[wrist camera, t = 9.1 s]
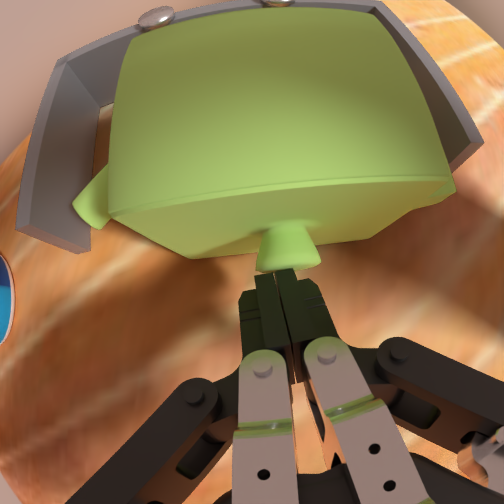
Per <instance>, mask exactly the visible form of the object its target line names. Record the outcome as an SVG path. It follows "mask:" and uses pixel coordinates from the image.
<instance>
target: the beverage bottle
mask: <svg viewBox="0 0 504 504" xmlns="http://www.w3.org/2000/svg"><path fill="white" fill-rule="evenodd" d="M14 310H15V291H14V283H13V278H12V274H11V271H10V268H9V266H8V264H7V262H6V261H5V259H4V258H3V257H2V256H1V255H0V345H1V344H2V343H3V342H4V341H5V340H6V338H7V337H8V335H9V332H10V330H11V327H12V323H13V318H14Z"/></svg>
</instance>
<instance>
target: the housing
mask: <svg viewBox="0 0 504 504" xmlns="http://www.w3.org/2000/svg"><path fill="white" fill-rule="evenodd" d="M271 7H317V8H333V9H343V10H352V11H358V12H364V13H369V14H372V15H374V16H375V17H376V18H377V19H378V20H379V21H380V22H381V24H382V25H383V26H384V27H385V28H386V29H387V31H388V32H389V33H390V35H391V36H392V38H393V39H394V41H395V42H396V44H397V45H398V47H399V49H400V50H401V52H402V54H403V56H404V57H405V59H406V61H407V63H408V65H409V66H410V68H411V70H412V72H413V74H414V76H415V78H416V80H417V82H418V84H419V87H420V89H421V91H422V93H423V95H424V98H425V100H426V103H427V105H428V108H429V110H430V113H431V115H432V118H433V121H434V123H435V126H436V129H437V132H438V135H439V138H440V141H441V144H442V147H443V150H444V153H445V155H446V158H447V161H448V164H449V167H450V170H451V174H452V173H453V172H454V171H455V170H456V169H457V168H458V167H459V166H460V165H462V164H463V163H464V162H465V161H466V160H467V159H468V158H469V157H470V156H471V155H472V154H474V153H475V152H476V151H477V150H478V149H479V148H480V147H481V146H482V145H483V144H484V141H483V139H482V137H481V135H480V133H479V131H478V129H477V127H476V125H475V123H474V122H473V120H472V118H471V116H470V114H469V113H468V111H467V109H466V108H465V106H464V104H463V103H462V101H461V99H460V98H459V96H458V95H457V93H456V91H455V90H454V88H453V87H452V85H451V84H450V82H449V81H448V79H447V78H446V76H445V75H444V74H443V72H442V71H441V69H440V68H439V67H438V65H437V64H436V63H435V61H434V60H433V59H432V57H431V56H430V55H429V53H428V52H427V51H426V50H425V48H424V47H423V46H422V45H421V43H420V42H419V41H418V40H417V39H416V37H415V36H414V35H413V34H412V33H411V32H410V31H409V29H408V28H407V27H406V26H405V25H404V24H403V23H402V22H401V21H400V20H399V18H398V17H397V16H396V15H395V14H394V13H393V12H392V11H391V10H390V9H389V8H388V7H387V6H386V5H385V4H384V3H383V2H382V1H377V0H236V1H229V2H223V3H218V4H212V5H206V6H201V7H197V8H192V9H188V10H184V11H180V12H176V13H174V10H173V8H172V7H169V6H163V7H158V8H155V9H152V10H150V11H148V12H146V13H144V14H143V15H142V16H141V17H140V18H139V20H138V23H139V24H137V25H134V26H131V27H128V28H125V29H123V30H120V31H118V32H115V33H113V34H110V35H108V36H105V37H103V38H101V39H98V40H96V41H94V42H92V43H90V44H88V45H85V46H83V47H81V48H79V49H77V50H75V51H73V52H71V53H69V54H67V55H66V56H64V57H62V58H60V59H58V60H57V62H56V65H55V67H54V70H53V72H52V74H51V77H50V80H49V82H48V85H47V88H46V90H45V93H44V96H43V98H42V101H41V104H40V108H39V111H38V114H37V117H36V120H35V124H34V127H33V131H32V135H31V138H30V142H29V146H28V151H27V155H26V160H25V164H24V169H23V175H22V180H21V186H20V193H19V200H18V207H17V216H16V227H15V230H17V231H20V232H22V233H24V234H27V235H29V236H32V237H34V238H37V239H39V240H42V241H44V242H47V243H49V244H52V245H54V246H57V247H59V248H62V249H65V250H67V251H70V252H72V253H75V254H80V253H84V252H88V251H91V247H90V225H89V224H88V223H87V222H85V221H84V220H83V219H82V218H81V217H80V216H79V214H78V213H77V212H76V210H75V209H74V207H73V205H72V202H73V201H74V200H75V198H76V197H77V196H78V195H79V194H80V193H81V192H82V190H83V189H84V188H85V187H86V186H87V185H88V184H89V183H90V182H91V180H92V169H93V158H94V148H95V140H96V132H97V124H98V118H99V111H100V107H103V106H105V105H108V104H111V103H113V102H114V100H115V94H116V89H117V84H118V79H119V74H120V70H121V66H122V62H123V59H124V56H125V54H126V51H127V49H128V46H129V44H130V42H131V40H132V39H133V38H135V37H137V36H139V35H141V34H144V33H146V32H149V31H152V30H155V29H158V28H161V27H164V26H168V25H171V24H175V23H178V22H182V21H186V20H190V19H195V18H199V17H204V16H209V15H214V14H219V13H225V12H232V11H239V10H247V9H257V8H271Z"/></svg>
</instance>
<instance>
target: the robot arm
mask: <svg viewBox="0 0 504 504" xmlns="http://www.w3.org/2000/svg"><path fill="white" fill-rule="evenodd" d="M274 275H275V279H274ZM274 275H273V272H271V273H266V274H261V275H255V276H254V278H255V284H256V289H253V290H248V291H243V293H242V295H241V297H240V299H239V301H238V304H239V317H240V329H241V341H242V352H243V357H242V361H241V364H240V365H239V367H238V368H237V369H236V370H235V371H234V372H233V373H232V374H231V375H229V376H227V377H225V378H223V379H220V380H218V381H216V382H213V383H212V382H210V381H209V380H207V379H203V378H192V379H189V380H186V381H184V382H183V383H181V384H180V385H179V386H178V387H177V388H176V389H175V390H174V391H173V393H172V394H171V395H170V396H169V397H168V398H167V399H166V400H165V401H164V402H163V403H162V405H161V406H160V407H159V408H158V409H157V410H156V411H155V412H154V413H153V414H152V415H151V416H150V417H149V418H148V420H147V421H146V422H145V423H144V424H143V425H142V426H141V427H140V428H139V429H138V430H137V431H136V432H135V433H134V434H133V435H132V436H131V437H130V438H129V440H128V441H127V442H126V443H125V444H124V445H123V446H122V447H121V448H120V449H119V450H118V451H117V452H116V453H115V454H114V455H113V456H112V457H111V458H110V459H109V460H108V461H107V462H106V463H105V464H104V465H103V466H102V467H101V468H100V469H99V470H98V471H97V472H96V473H95V474H94V475H93V476H92V477H91V478H90V479H89V480H88V481H87V482H86V483H85V484H84V485H83V486H82V487H81V488H80V489H79V490H78V491H77V492H76V493H75V494H74V495H73V496H72V497H71V498H70V499H69V500H68V501H67V502H66V503H65V504H182V503H183V502H184V501H185V500H186V498H187V497H188V496H189V495H190V494H191V493H192V492H193V491H194V489H195V488H196V487H197V486H198V485H199V484H200V482H201V481H202V480H203V479H204V478H205V477H206V475H207V474H208V473H209V472H210V471H211V469H212V468H213V467H214V466H215V465H216V463H217V462H218V461H219V460H220V458H221V457H222V456H223V455H224V453H225V452H226V451H227V450H228V448H229V447H230V446H231V444H232V443H233V455H232V489H231V490H230V491H228V492H226V493H225V494H223V495H222V496H221V497H219V498H218V499H217V500H216V501H215V502H214V503H213V504H504V382H502V381H500V380H498V379H495V378H493V377H491V376H489V375H486V374H484V373H482V372H480V371H477V370H475V369H473V368H471V367H468V366H466V365H464V364H462V363H460V362H457V361H455V360H453V359H451V358H448V357H446V356H444V355H442V354H440V353H437V352H435V351H433V350H431V349H429V348H426V347H424V346H422V345H420V344H418V343H415V342H413V341H411V340H409V339H406V338H403V337H393V338H389V339H387V340H385V341H384V342H382V343H381V345H380V346H379V348H356V347H352V346H350V345H348V344H346V343H345V342H343V341H342V340H341V339H340V337H339V336H338V334H337V331H336V329H335V326H334V324H333V321H332V319H331V316H330V314H329V311H328V309H327V306H326V305H325V302H324V299H323V297H322V294H321V292H320V290H319V287H318V285H316V284H315V283H314V282H313V281H312V280H310V279H309V278H308V279H303V280H298V281H297V278H296V275H295V272H294V269H293V268H291V269H286V270H281V271H276V272H274ZM275 281H276V283H275ZM293 367H294V369H293ZM294 372H295V376H296V381H297V383H301V382H304V386H305V390H306V400H307V403H308V406H309V409H310V412H311V415H312V418H313V421H314V424H315V427H316V430H317V433H318V436H319V439H320V442H321V446H322V451H323V456H324V460H325V463H326V467H327V471H325V472H323V473H320V474H299V468H298V458H297V449H296V439H295V429H294V420H293V410H292V403H293V395H292V388H291V385H292V384H295V378H294ZM396 424H397V425H399V426H401V427H403V428H405V429H407V430H409V431H411V432H412V433H414V434H416V435H418V436H420V437H422V438H424V439H426V440H428V441H430V442H433V443H435V444H437V445H439V446H441V447H443V448H445V449H447V450H449V451H452V452H454V453H456V454H458V456H457V463H458V468H459V469H460V470H461V471H462V472H463V473H465V474H466V475H467V476H468V477H469V478H470V479H471V480H469V479H467V478H465V477H463V476H461V475H459V474H457V473H455V472H453V471H451V470H449V469H447V468H445V467H443V466H441V465H439V464H437V463H435V462H433V461H431V460H429V459H428V458H426V457H424V456H421V455H419V454H416V453H412V452H408V449H407V447H406V445H405V443H404V441H403V439H402V437H401V434H400V432H399V430H398V428H397V426H396Z"/></svg>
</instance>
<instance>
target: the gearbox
mask: <svg viewBox="0 0 504 504" xmlns="http://www.w3.org/2000/svg"><path fill="white" fill-rule="evenodd" d="M455 192H457V190H456V187H455V183H454V180H453V177H452V174H451V170H450V167H449V164H448V161H447V158H446V155H445V153H444V150H443V147H442V144H441V141H440V138H439V135H438V132H437V129H436V126H435V123H434V121H433V118H432V115H431V113H430V110H429V108H428V105H427V103H426V100H425V98H424V95H423V93H422V91H421V89H420V87H419V84H418V82H417V80H416V78H415V76H414V74H413V72H412V70H411V68H410V66H409V65H408V63H407V61H406V59H405V57H404V56H403V54H402V52H401V50H400V49H399V47H398V45H397V44H396V42H395V41H394V39H393V38H392V36H391V35H390V33H389V32H388V31H387V29H386V28H385V27H384V26H383V25H382V24H381V22H380V21H379V20H378V19H377V18H376V17H375V16H374V15H372V14H369V13H364V12H358V11H352V10H343V9H333V8H317V7H271V8H257V9H247V10H239V11H232V12H225V13H219V14H214V15H209V16H204V17H199V18H195V19H190V20H186V21H182V22H178V23H175V24H171V25H168V26H164V27H161V28H158V29H155V30H152V31H149V32H146V33H144V34H141V35H139V36H137V37H135V38H133V39H132V40H131V42H130V44H129V46H128V49H127V51H126V54H125V56H124V59H123V62H122V66H121V70H120V74H119V79H118V84H117V89H116V94H115V100H114V106H113V114H112V122H111V131H110V143H109V161H108V164H107V165H106V166H105V167H104V168H103V169H102V170H101V171H100V172H99V173H98V174H97V175H96V176H95V177H94V178H93V179H92V180H91V182H90V183H89V184H88V185H87V186H86V187H85V188H84V189H83V190H82V192H81V193H80V194H79V195H78V196H77V197H76V198H75V200H74V201H73V202H72V205H73V207H74V209H75V210H76V212H77V213H78V214H79V216H80V217H81V218H82V219H83V220H84V221H85V222H87V223H88V224H89V225H90V226H92V227H93V228H95V229H97V230H101V229H102V228H103V227H104V226H105V225H106V223H107V222H108V221H109V220H110V219H111V218H112V219H114V220H116V221H118V222H120V223H122V224H123V225H125V226H127V227H129V228H131V229H132V230H134V231H136V232H138V233H139V234H141V235H143V236H145V237H147V238H149V239H150V240H152V241H154V242H156V243H158V244H160V245H162V246H164V247H166V248H168V249H170V250H172V251H174V252H176V253H178V254H180V255H182V256H184V257H186V258H188V259H200V258H209V257H219V256H228V255H237V254H246V253H255V252H258V256H257V260H256V271H259V272H261V273H271V272H273V273H274V272H276V271H281V270H286V269H291V268H293V269H294V271H298V270H304V269H308V268H312V267H315V266H317V265H318V264H320V263H321V259H320V256H319V253H318V251H317V249H316V247H315V245H323V244H331V243H339V242H347V241H355V240H363V239H369V238H371V237H372V236H374V235H375V234H377V233H378V232H380V231H381V230H383V229H384V228H386V227H387V226H389V225H390V224H392V223H393V222H395V221H396V220H398V219H399V218H400V217H402V216H403V215H405V214H406V213H408V212H409V211H410V210H414V209H417V208H421V207H425V206H429V205H433V204H437V203H440V202H442V201H443V200H445V199H446V198H448V197H449V196H451V195H452V194H454V193H455Z"/></svg>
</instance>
